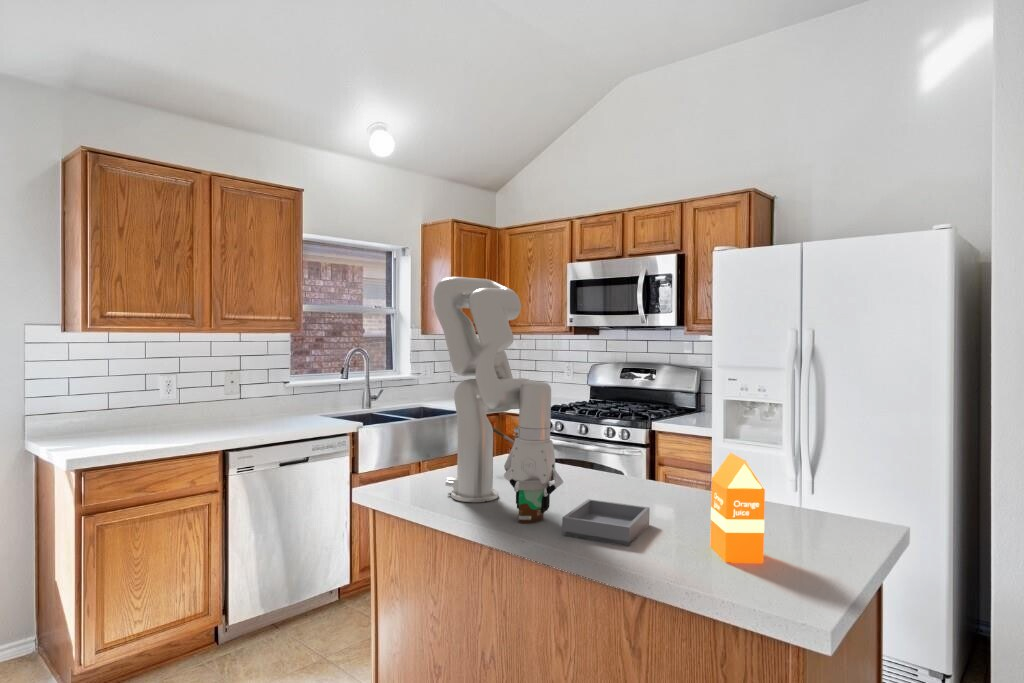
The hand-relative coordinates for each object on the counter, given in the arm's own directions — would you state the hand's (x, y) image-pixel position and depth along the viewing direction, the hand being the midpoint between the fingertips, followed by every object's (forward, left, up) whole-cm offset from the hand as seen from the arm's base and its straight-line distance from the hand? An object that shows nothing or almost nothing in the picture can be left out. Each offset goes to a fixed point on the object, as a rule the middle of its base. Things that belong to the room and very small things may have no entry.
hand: (532, 508), depth 152 cm
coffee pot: (-25, +39, -2) cm, 46 cm away
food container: (+1, 0, -2) cm, 3 cm away
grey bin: (+19, 0, -2) cm, 19 cm away
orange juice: (+47, -3, -2) cm, 47 cm away
